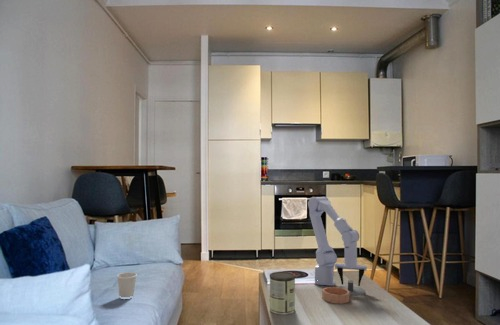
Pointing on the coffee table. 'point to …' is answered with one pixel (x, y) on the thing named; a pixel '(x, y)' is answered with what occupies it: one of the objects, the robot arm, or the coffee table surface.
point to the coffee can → (282, 293)
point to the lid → (353, 289)
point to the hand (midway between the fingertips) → (350, 284)
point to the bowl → (335, 295)
